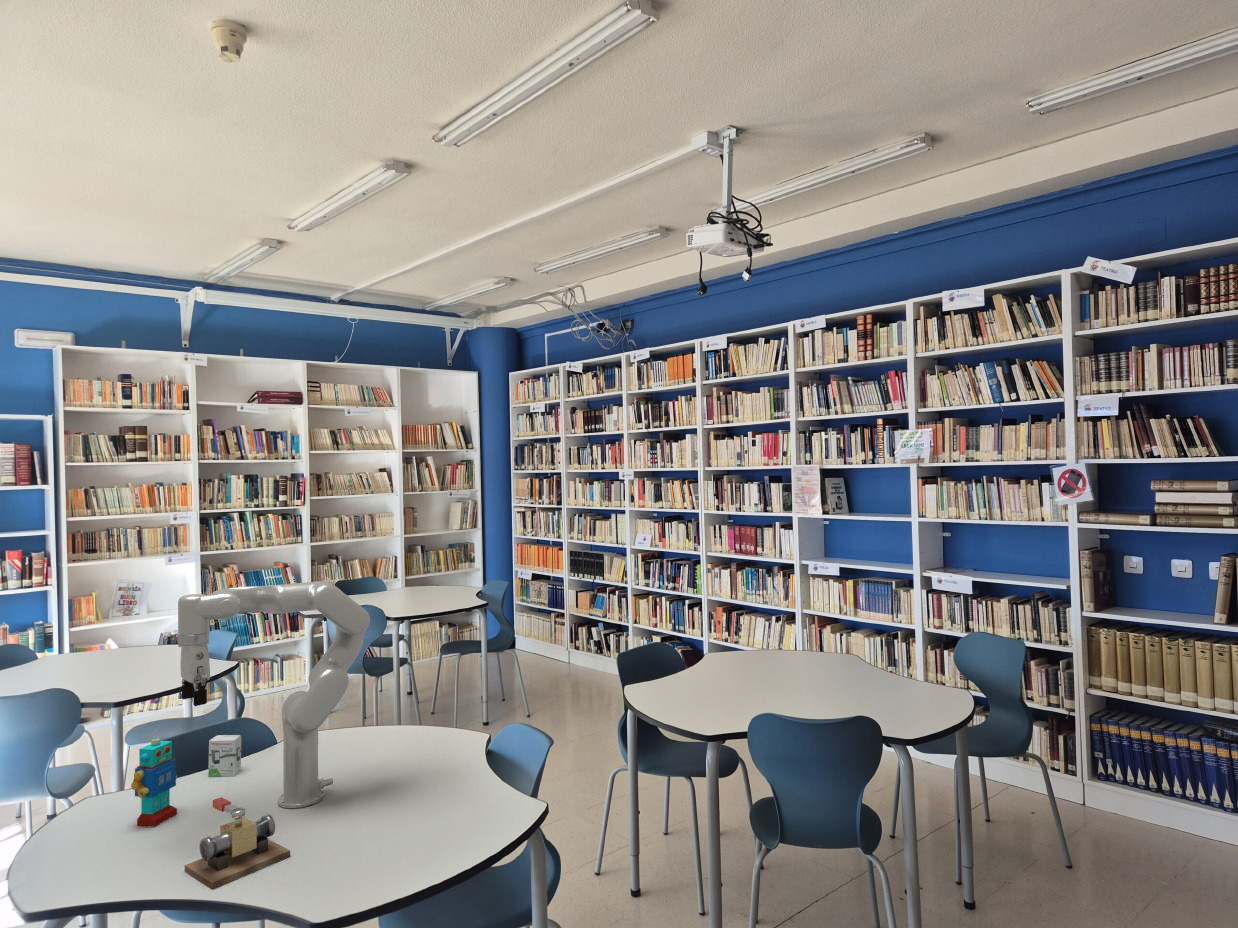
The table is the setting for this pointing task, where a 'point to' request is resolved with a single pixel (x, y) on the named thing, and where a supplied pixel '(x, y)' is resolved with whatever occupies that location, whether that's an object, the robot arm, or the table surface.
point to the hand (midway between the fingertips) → (194, 701)
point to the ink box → (224, 755)
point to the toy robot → (155, 782)
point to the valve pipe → (237, 840)
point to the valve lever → (228, 807)
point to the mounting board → (236, 865)
